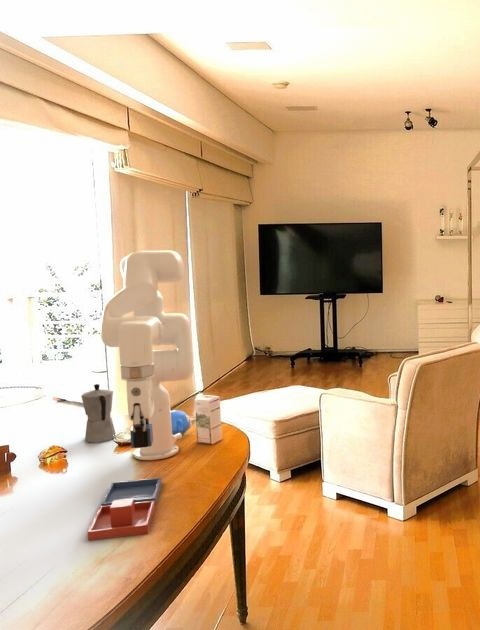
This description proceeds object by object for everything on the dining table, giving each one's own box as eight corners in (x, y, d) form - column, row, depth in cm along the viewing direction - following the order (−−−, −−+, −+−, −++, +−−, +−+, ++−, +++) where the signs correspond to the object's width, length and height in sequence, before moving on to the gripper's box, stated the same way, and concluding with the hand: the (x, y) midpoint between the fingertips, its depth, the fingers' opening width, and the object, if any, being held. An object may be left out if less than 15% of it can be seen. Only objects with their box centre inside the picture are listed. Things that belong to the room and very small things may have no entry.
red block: (114, 518, 157) (113, 500, 157) (135, 516, 159) (134, 498, 158) (111, 526, 153) (109, 508, 153) (132, 524, 154) (131, 505, 154)
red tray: (100, 514, 161) (100, 506, 161) (155, 508, 164) (154, 500, 164) (88, 540, 148) (87, 531, 147) (147, 533, 151) (147, 524, 150)
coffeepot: (80, 436, 221) (76, 382, 219) (111, 430, 227) (107, 378, 225) (90, 448, 209) (86, 391, 207) (122, 442, 215) (119, 387, 212)
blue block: (134, 442, 168) (132, 425, 167) (153, 440, 169) (152, 423, 169) (131, 448, 164) (130, 430, 163) (151, 446, 165) (150, 428, 164)
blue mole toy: (205, 436, 220) (203, 411, 219) (167, 442, 214) (165, 417, 213) (195, 427, 230) (194, 403, 229) (159, 433, 224) (157, 408, 223)
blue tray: (112, 489, 176) (111, 482, 176) (161, 484, 179) (161, 477, 179) (101, 511, 162) (101, 503, 162) (155, 505, 166) (155, 498, 165)
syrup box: (222, 439, 217) (220, 395, 215) (211, 445, 211) (209, 399, 209) (207, 437, 219) (205, 394, 217) (196, 443, 213) (193, 398, 211)
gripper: (150, 378, 157) (155, 453, 159) (157, 363, 173) (162, 432, 176) (115, 380, 155) (120, 456, 157) (126, 365, 171) (131, 434, 174)
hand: (142, 443), depth 166 cm, fingers closed on blue block, 4 cm apart
